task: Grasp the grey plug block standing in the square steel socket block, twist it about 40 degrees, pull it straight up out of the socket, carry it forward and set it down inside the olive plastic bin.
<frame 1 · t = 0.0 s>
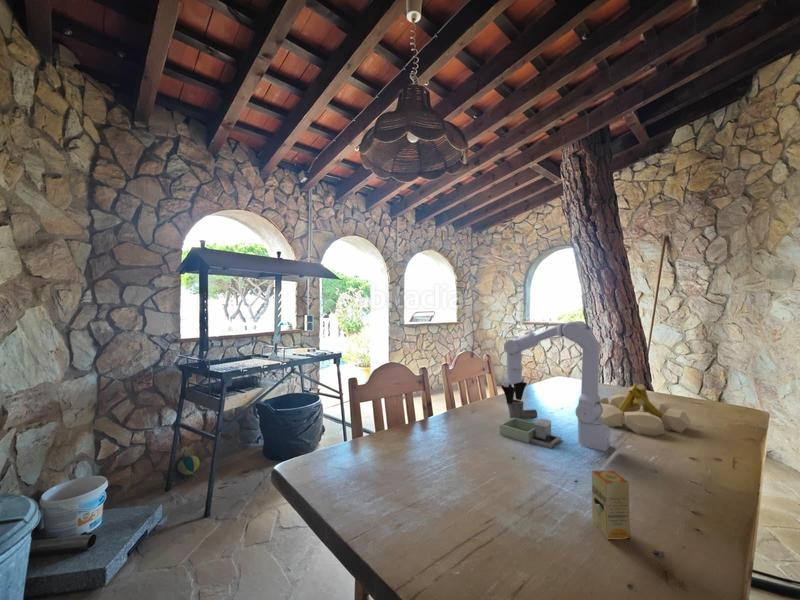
hand: (514, 401, 136), 10 cm above the table, fingers open, 7 cm apart
socket block: (543, 443, 118), on the table
pipe: (521, 419, 144), on the table
grey plug block: (543, 440, 118), point 1 cm above the table, touching socket block
campfire: (633, 422, 141), on the table
bin: (520, 436, 125), on the table
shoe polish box: (610, 532, 72), on the table
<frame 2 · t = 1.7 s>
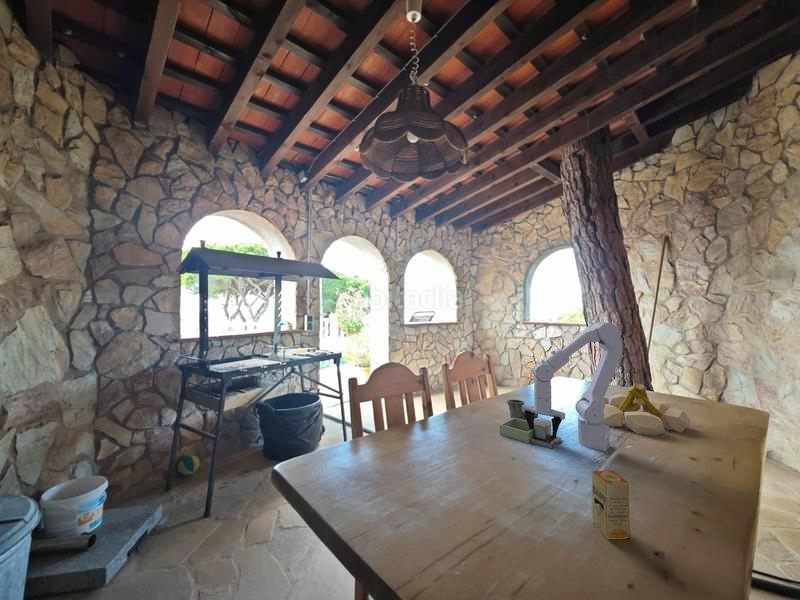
hand: (543, 435, 119), 3 cm above the table, fingers open, 7 cm apart
nothing on the table moved.
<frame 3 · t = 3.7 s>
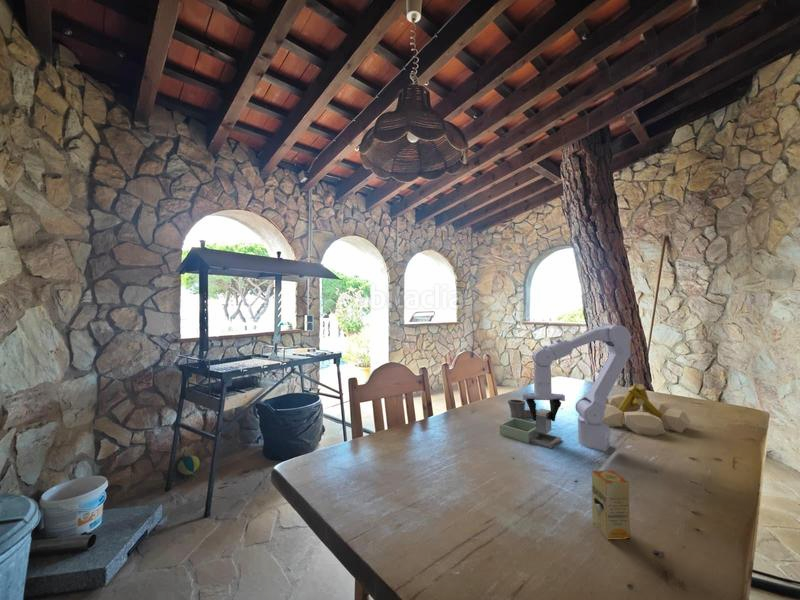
hand: (543, 420, 119), 8 cm above the table, fingers closed on grey plug block, 6 cm apart
grey plug block: (543, 430, 118), point 5 cm above the table, touching gripper
everything else where it was.
when the fingers open (4 cm above the table, at t = 6.1 s): grey plug block stays where it is, resting on bin.
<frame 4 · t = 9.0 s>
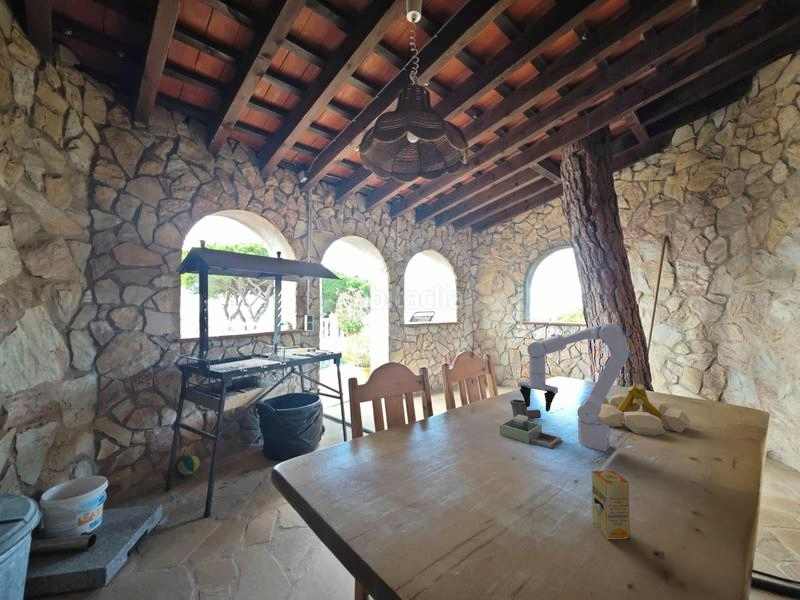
hand: (537, 408, 126), 10 cm above the table, fingers open, 7 cm apart
grey plug block: (520, 435, 124), point 1 cm above the table, touching bin
at the end: grey plug block inside the target area on the bin (0.4 cm from its centre), point 0.6 cm above the bin's base; the gripper is holding nothing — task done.
